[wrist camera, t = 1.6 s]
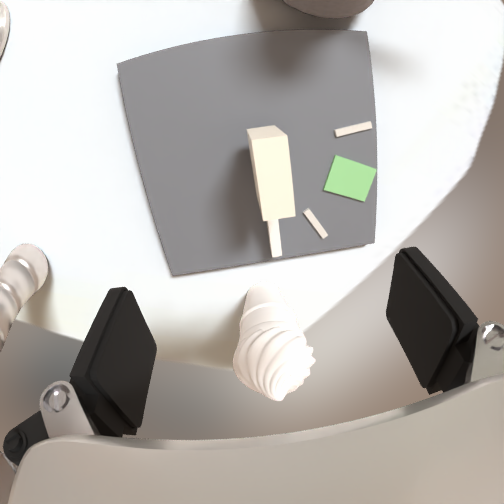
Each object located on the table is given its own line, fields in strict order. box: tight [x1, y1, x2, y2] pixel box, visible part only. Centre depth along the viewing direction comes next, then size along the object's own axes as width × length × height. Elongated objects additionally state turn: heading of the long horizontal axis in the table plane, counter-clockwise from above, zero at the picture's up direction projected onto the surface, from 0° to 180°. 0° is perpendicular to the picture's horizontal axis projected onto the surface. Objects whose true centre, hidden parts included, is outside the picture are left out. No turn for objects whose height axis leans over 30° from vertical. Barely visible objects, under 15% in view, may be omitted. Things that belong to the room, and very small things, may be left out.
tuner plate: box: [117, 29, 377, 276], centre depth 28 cm, size 24×24×2 cm
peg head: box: [247, 125, 296, 257], centre depth 25 cm, size 13×2×8 cm, turn 8°
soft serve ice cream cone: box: [233, 282, 316, 401], centre depth 31 cm, size 8×8×16 cm
